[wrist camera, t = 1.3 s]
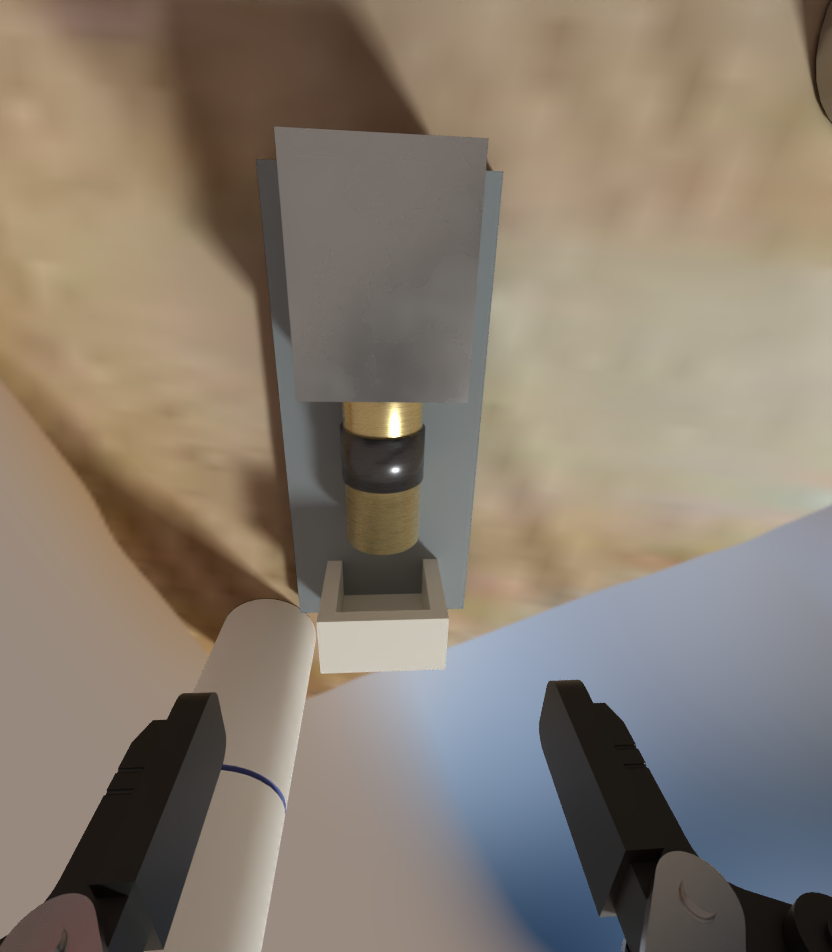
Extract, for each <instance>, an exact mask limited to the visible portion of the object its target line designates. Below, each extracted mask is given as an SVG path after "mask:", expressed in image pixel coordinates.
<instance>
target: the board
mask: <svg viewBox="0 0 832 952" xmlns="http://www.w3.org/2000/svg"><path fill="white" fill-rule="evenodd" d="M256 165H257V175H258V185H259V196H260V206H261V216H262V226H263V237H264V247H265V257H266V267H267V278H268V288H269V298H270V308H271V318H272V329H273V339H274V349H275V359H276V370H277V380H278V390H279V400H280V411H281V421H282V431H283V441H284V451H285V462H286V472H287V482H288V492H289V503H290V513H291V523H292V533H293V544H294V554H295V564H296V574H297V584H298V595H299V605H300V613H315V612H319V606H320V601H321V595H322V590H323V584H324V579H325V573H326V567H327V562H328V561H342V564H343V586H344V595H377V594H418V593H422V569H423V559H437V561H438V566H439V571H440V576H441V581H442V586H443V591H444V596H445V601H446V606H447V609H463V607H464V596H465V585H466V574H467V563H468V552H469V541H470V531H471V520H472V509H473V498H474V487H475V476H476V465H477V454H478V443H479V432H480V421H481V410H482V399H483V388H484V378H485V367H486V356H487V345H488V334H489V323H490V312H491V301H492V290H493V279H494V268H495V257H496V246H497V235H498V225H499V214H500V203H501V192H502V181H503V171H486V176H485V189H484V202H483V215H482V228H481V240H480V253H479V266H478V279H477V292H476V305H475V317H474V330H473V343H472V356H471V369H470V381H469V394H468V403H424V404H423V424H424V425H425V449H424V475H423V480H422V482H421V485H420V513H419V537H418V540H417V542H416V543H415V545H413V546H412V547H411V548H409V549H407V550H405V551H403V552H400V553H396V554H390V555H374V554H368V553H364V552H362V551H359V550H357V549H355V548H354V547H353V546H352V545H351V544H350V543H349V542H348V539H347V522H346V497H345V483H344V481H343V479H342V464H341V441H340V425H341V424H342V423H343V422H342V402H297V401H296V389H295V377H294V365H293V353H292V340H291V328H290V316H289V304H288V292H287V279H286V267H285V255H284V243H283V231H282V218H281V206H280V194H279V182H278V170H277V160H264V159H256Z"/></svg>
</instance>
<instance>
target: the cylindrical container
mask: <svg viewBox="0 0 832 952" xmlns="http://www.w3.org/2000/svg"><path fill="white" fill-rule="evenodd" d="M315 641H316V632H315V627H314V625H313V623H312V621H311V620H310V618H309V617H308V616H307V614H305V613H300V609H299V608H297V607H296V606H294V605H292V604H290V603H287V602H284V601H280V600H275V599H258V600H253V601H249V602H246V603H244V604H242V605H240V606H238V607H237V608H235V609H234V610H233V611H232V612H231V613H230V614H229V615H228V616H227V618H226V620H225V622H224V624H223V626H222V628H221V631H220V633H219V635H218V637H217V640H216V642H215V644H214V646H213V649H212V651H211V653H210V655H209V658H208V660H207V662H206V664H205V667H204V669H203V671H202V673H201V676H200V678H199V680H198V682H197V685H196V687H195V689H194V692H193V693H208V692H215V693H217V695H218V699H219V703H220V708H221V713H222V718H223V722H224V727H225V732H226V751H225V757H224V761H223V765H222V768H221V771H220V774H219V778H218V781H217V784H216V787H215V790H214V793H213V796H212V800H211V803H210V806H209V809H208V812H207V815H206V818H205V821H204V825H203V828H202V831H201V834H200V837H199V840H198V843H197V846H196V850H195V853H194V856H193V859H192V862H191V865H190V868H189V872H188V875H187V878H186V881H185V884H184V887H183V890H182V893H181V897H180V900H179V903H178V906H177V909H176V912H175V915H174V919H173V922H172V925H171V928H170V931H169V934H168V937H167V940H166V944H165V947H164V950H155V951H144V952H261V949H262V944H263V938H264V932H265V927H266V921H267V915H268V910H269V903H270V898H271V892H272V887H273V881H274V875H275V870H276V864H277V858H278V853H279V846H280V841H281V835H282V830H283V824H284V818H285V812H286V807H287V801H288V795H289V789H290V784H291V778H292V773H293V767H294V761H295V755H296V750H297V743H298V738H299V732H300V727H301V721H302V715H303V710H304V704H305V698H306V693H307V687H308V681H309V676H310V670H311V664H312V659H313V653H314V647H315Z"/></svg>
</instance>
